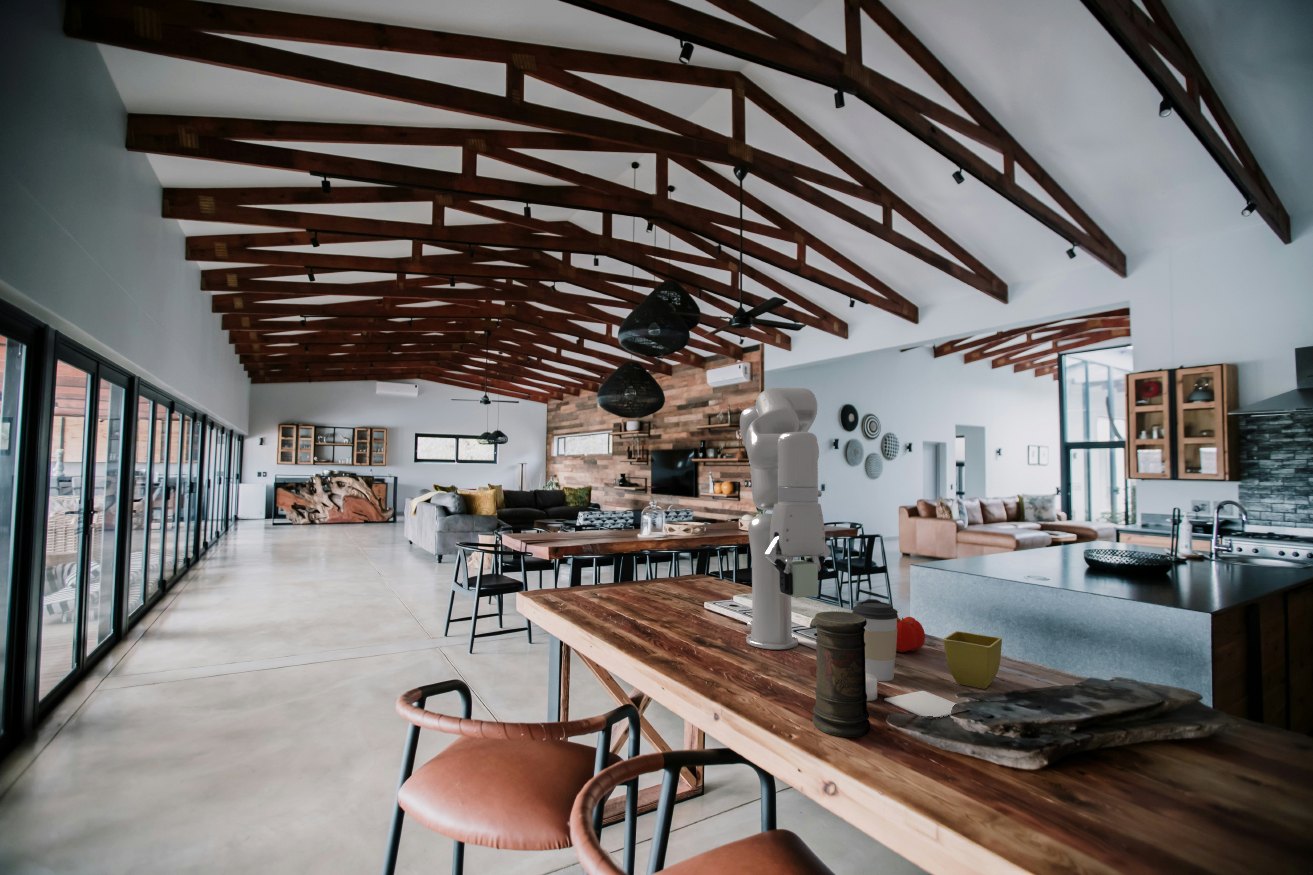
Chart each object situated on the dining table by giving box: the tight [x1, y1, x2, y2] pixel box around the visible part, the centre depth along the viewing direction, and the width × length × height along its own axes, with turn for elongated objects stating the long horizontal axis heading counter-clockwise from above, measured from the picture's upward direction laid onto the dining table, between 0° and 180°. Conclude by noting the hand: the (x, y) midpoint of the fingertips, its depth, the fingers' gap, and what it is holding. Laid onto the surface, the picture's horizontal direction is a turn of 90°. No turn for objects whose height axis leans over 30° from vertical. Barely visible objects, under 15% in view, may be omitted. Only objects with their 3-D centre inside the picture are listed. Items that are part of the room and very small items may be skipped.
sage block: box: [780, 559, 819, 599], centre depth 116 cm, size 5×5×6 cm
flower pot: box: [942, 630, 1003, 690], centre depth 122 cm, size 9×9×9 cm
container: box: [812, 611, 871, 738], centre depth 101 cm, size 9×9×18 cm
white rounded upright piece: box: [866, 673, 878, 702], centre depth 115 cm, size 6×6×4 cm
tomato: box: [896, 616, 926, 653], centre depth 145 cm, size 9×9×8 cm
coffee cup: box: [851, 598, 899, 682], centre depth 127 cm, size 9×9×15 cm
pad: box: [884, 690, 957, 718], centre depth 110 cm, size 10×10×1 cm
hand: (798, 591), depth 116 cm, fingers closed on sage block, 5 cm apart
